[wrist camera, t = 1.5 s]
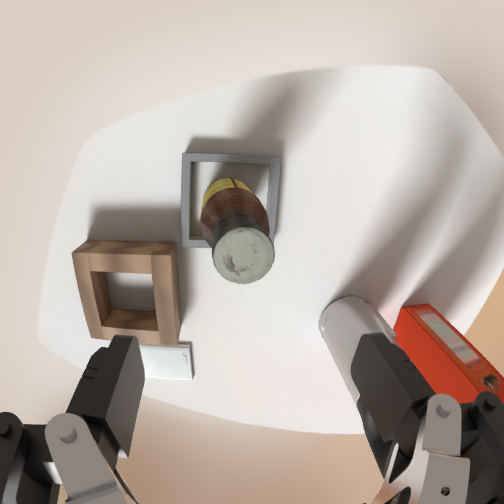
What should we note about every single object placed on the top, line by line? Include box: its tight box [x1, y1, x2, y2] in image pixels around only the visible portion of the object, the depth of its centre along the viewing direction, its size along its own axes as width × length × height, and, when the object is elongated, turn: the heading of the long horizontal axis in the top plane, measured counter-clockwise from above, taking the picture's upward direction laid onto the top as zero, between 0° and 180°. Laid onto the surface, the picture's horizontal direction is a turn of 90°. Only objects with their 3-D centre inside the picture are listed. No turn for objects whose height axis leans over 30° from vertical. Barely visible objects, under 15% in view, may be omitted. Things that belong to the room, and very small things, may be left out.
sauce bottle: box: [200, 177, 275, 284], centre depth 27 cm, size 6×6×20 cm
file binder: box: [394, 304, 504, 404], centre depth 35 cm, size 8×17×32 cm, turn 176°
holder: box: [72, 240, 181, 346], centre depth 37 cm, size 14×14×5 cm
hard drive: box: [139, 343, 193, 380], centre depth 44 cm, size 2×8×12 cm
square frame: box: [181, 153, 281, 248], centre depth 35 cm, size 12×12×2 cm
